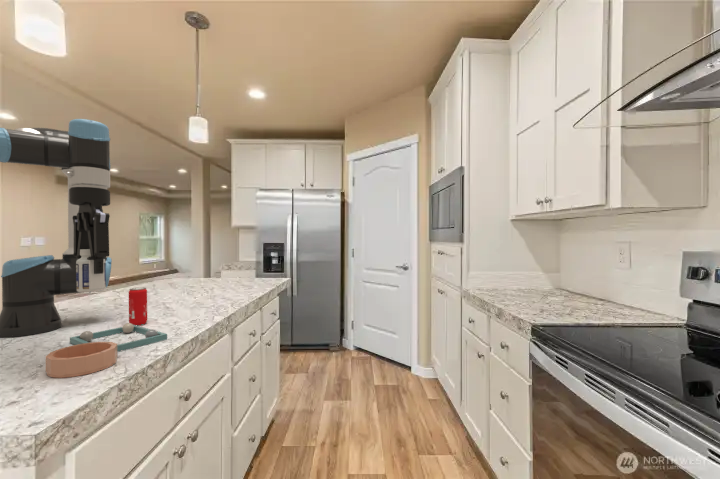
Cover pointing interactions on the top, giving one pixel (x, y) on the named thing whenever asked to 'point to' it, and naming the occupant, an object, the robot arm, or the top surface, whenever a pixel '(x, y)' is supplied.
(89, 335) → the taupe ball
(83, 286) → the pill bottle
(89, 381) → the top surface
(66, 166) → the robot arm
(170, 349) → the top surface
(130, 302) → the beverage can
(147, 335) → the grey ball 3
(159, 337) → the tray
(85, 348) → the bowl
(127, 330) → the pebble
